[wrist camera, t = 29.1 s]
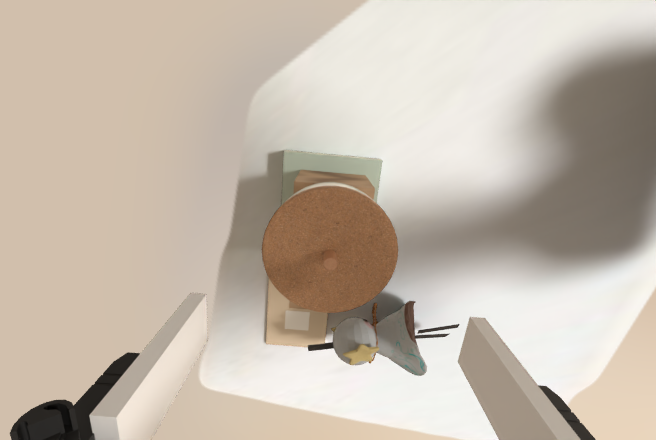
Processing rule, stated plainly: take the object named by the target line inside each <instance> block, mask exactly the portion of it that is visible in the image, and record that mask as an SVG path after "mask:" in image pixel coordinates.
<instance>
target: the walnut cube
mask: <svg viewBox="0 0 656 440" xmlns="http://www.w3.org/2000/svg"><path fill="white" fill-rule="evenodd" d="M322 182H337V183H343V184H347V185H350V186H353V187H355V188H357V189H359V190H361V191H362V192H364V193H365V194H366V195H368V196H369V197H370V198H371V199H372V200H374V193H375V188H374V186H373V185H372V184H371V182H370V181H369V179H368V178H367V177H366V175H356V174H345V173H334V172H322V171H311V170H300V172H299V174H298V175H297V177H296V179H295V181H294V193H293V194H295V193H296V192H297V191H299V190H301V189H303V188H305V187H307V186H310V185H313V184H316V183H322Z"/></svg>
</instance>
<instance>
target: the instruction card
mask: <svg viewBox="0 0 656 440" xmlns="http://www.w3.org/2000/svg"><path fill="white" fill-rule="evenodd" d="M327 318H328V313H323V312H316V311H312V310H308V309H305V308H303V307H300V306H298V305H296V304H294V303H293V302H291V301H289V300H288V299H287V298H286V297H284V296H283V295H282V294H281V293H280V292H279V291H278V290H277V289H276V288H275V287H274V285H273V284H272V282H271V280H270V279H269V282H268V308H267V334H266V344H273V345H286V346H299V347H308V345H314V344H323V343H325V337H326V327H327Z"/></svg>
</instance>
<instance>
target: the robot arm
mask: <svg viewBox="0 0 656 440" xmlns="http://www.w3.org/2000/svg"><path fill="white" fill-rule="evenodd" d="M207 341H208V332H207V299H206V294H198V293H190V294H189V296H188V297H187V298H186V299H185V300H184V302H183V303H182V304H181V305H180V306H179V308H178V309H177V310H176V311H175V312H174V314H173V315H172V316H171V317H170V318H169V320H168V321H167V322H166V323H165V325H164V326H163V327H162V328H161V329H160V330H159V332H158V333H157V334H156V335H155V337H154V338H153V339H152V340H151V341H150V343H149V344H148V345H147V346H146V347H145V349H144V350H143V351H142V352H141V353H126V354H125V355H123V356H122V357H120V358H119V359H117V360H116V361H114V362H113V363H112V364H111V365H110V366H109V368H108V369H107V370H106V371H105V372H104V373H103V375H101V376H100V377H99V378H98V380H97V381H96V382H95V384H94V385H92V386H91V387H90V388H89V389H88V391H87V392H86V393H85V394H84V395H83V396H82V397H81V398H80V399H79V400H78V402H77V403H76V404H75V405H74V406H73V404H72V403H71V402H69V401H67V400H54V401H50V402H46V403H43V404H41V405H39V406H37V407H35V408H33V409H31V410H30V411H28V412H27V413H25V414H24V415H23V416H21V417H20V418H19V419H18V421H17V422H16V423H15V424H14V425H13V427H12V430H11V432H10V436H11V439H12V440H152V438H153V436H154V435H155V433H156V431H157V429H158V427H159V426H160V424H161V422H162V421H163V419H164V417H165V415H166V413H167V412H168V410H169V408H170V406H171V405H172V403H173V401H174V399H175V398H176V396H177V394H178V392H179V391H180V389H181V387H182V385H183V383H184V382H185V380H186V378H187V376H188V375H189V373H190V371H191V369H192V367H193V366H194V364H195V362H196V360H197V359H198V357H199V355H200V353H201V352H202V350H203V348H204V346H205V345H206V343H207ZM458 363H459V365H460V367H461V369H462V371H463V372H464V374H465V376H466V378H467V380H468V382H469V384H470V386H471V388H472V389H473V391H474V393H475V395H476V397H477V399H478V401H479V403H480V404H481V406H482V408H483V410H484V412H485V414H486V416H487V418H488V420H489V421H490V423H491V425H492V427H493V429H494V431H495V433H496V435H497V437H498V438H499V440H595V438H594V437H593V436H592V435H591V434H590V432H589V431H588V430H587V429H586V428H585V426H584V425H583V424H582V423H580V421H579V419H577V417H576V416H575V415H574V413H572V412H571V410H570V408H569V407H568V406H567V405H566V404H565V402H564V401H563V400H562V399H561V398H560V397H559V396H558V395H557V394H555V393H554V392H553V391H552V390H550V389H549V388H548V387H547V386H538V385H537V384H536V382H535V381H534V380H533V379H532V377H531V376H530V375H529V373H528V372H527V371H526V370H525V368H524V367H523V366H522V365H521V363H520V362H519V361H518V359H517V358H516V357H515V356H514V354H513V353H512V352H511V351H510V349H509V348H508V347H507V345H506V344H505V343H504V342H503V340H502V339H501V338H500V337H499V335H498V334H497V333H496V332H495V330H494V329H493V328H492V326H491V325H490V324H489V323H488V321H487V320H486V319H485V318H477V317H470V318H469V322H468V326H467V330H466V333H465V337H464V341H463V344H462V348H461V352H460V355H459V359H458Z"/></svg>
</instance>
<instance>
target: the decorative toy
mask: <svg viewBox="0 0 656 440" xmlns="http://www.w3.org/2000/svg"><path fill="white" fill-rule="evenodd" d="M414 303H415V302H414V301H409V302H407V303H406V304H405V305H404V306H403V307H402V308H401V309H400V310H399V311H397V312H395V313H393V314H391V315H389V316H387V317H385V318H384V319H383V320H382V321H380V322H377V321H376V320H377V319H376V308H377V303H375V304H374V306H373V310H372V311H373V312H372V313H373V324H372V325H371V324H370V323H369V322H368V321H367V320H364V319H362V318H357V317H353V318H348V319H346V320H344V321H343V322H341V323H340V324H339V325H338V326H337V327H335V328H332V329H331V330H332V331H333V332H334V335H333V342H332V343H323V344H314V345H308V351H313V350H322V349H331V348H334V350H335V352H336V354H337V355H338V357H339V358H340V359H341V360H343V361H344V362H346V363H348V364H350V365H361V364H364V363H366V362H368V361H369V363H371V361H373V360H374V358H375V355H376V353H379V354H381V355H383V356H385V357H388V358H389V359H391V360H392V361H393V362H395V363H396V364H398V365H399V366H401V367H402V368H404V369H405V370H407V371H408V372H410V373H412V374H414V375H418V376H421V375H424V374H425V373H426V371H427V366H426V364H425V362H424V360H423V358H422V357H421V355H420V352H419V349H418V346H417V343H416V340H415V338H433V337H445V336H447V335H449V334H435V335H416V336H415V331H414V309H413V306H414ZM374 307H375V308H374ZM374 310H375V311H374ZM374 313H375V314H374ZM374 318H375V319H374ZM374 320H375V322H374ZM459 325H460V324H458V325H451V326H445V327H438V328H431V329H425V330H419V331H418V333H425V332H431V331H438V330H444V329H451V328H457V327H458V326H459ZM373 356H374V357H373ZM372 357H373V360H372Z"/></svg>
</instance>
